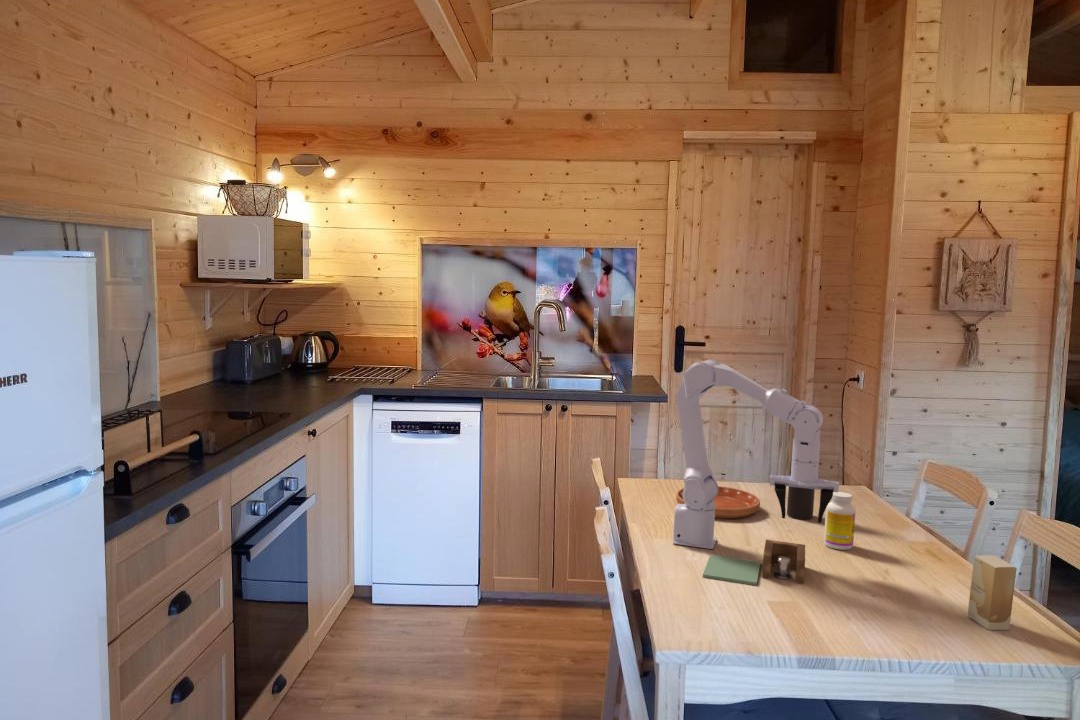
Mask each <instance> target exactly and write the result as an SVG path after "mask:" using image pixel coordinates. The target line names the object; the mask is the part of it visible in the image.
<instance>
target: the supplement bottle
mask: <svg viewBox="0 0 1080 720" xmlns="http://www.w3.org/2000/svg"><path fill="white" fill-rule="evenodd" d="M852 501H853V495H852V494H851V493H848V492H844V491H838V492H833V497H832V499H831V501H830V502H829V503H828V505H827V507H826V509H825V515H824V516H825V518H824V532H823V543H824V545H825V546H826V547H828V548H831V549H834V550H840V551H841V550H842V551H848V550H851V549H853V546H854V536H855V523H856V522H855V521H856V507H854V506H853V505H852Z"/></svg>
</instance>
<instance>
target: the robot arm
mask: <svg viewBox="0 0 1080 720" xmlns="http://www.w3.org/2000/svg"><path fill="white" fill-rule="evenodd" d="M713 387H715V388H716V387H717V388H719V387H721V388H722V387H729V388H732V389H733V390H736V391H737V392H740V393H742V394H744V395H746V396H748V397H750V398H753V400H756V401H758V402H760V404H761V406H762V409H763V411H764V412H767V413H768V414H770V415H771V416H774V417H775V418H777V419H779V420H780V421H783V422H785V423H786V424H788V425H790V424H791V426H792V428H793V429H794V432H793V434H794V435H793V439H792V454H791V460H792V465H791V476H789V475H776V474H773V475H772V474H770V475H769V486H774V492H775V494H776V497H777V500H778V503H779V507H780V510H781V518H782V519H786V513H787V510H786V496H787V495H786V494H787V487H789V486H790V487H799V488H808V489H815V490H818V491H820V495H819V496H820V497H819V508H818V514H817V523H818V524H822V521H823V517H824V514H825V513H826V507H827V505H828V503H830V502H831V501H832V497H833V492H839V490H840V489H839V488H840V482H839V481H833V480H826V479H821V478H819V468H820V467H819V465H820V452H821V451H820V449H821V440H820V439H821V429H820V428H821V426H822V425H823V423H824V415H823V413H822V411H821V410H820V409H819V408H817V407H816V405H813V404H807V401H805V400H801V401H800V400H799V399H797V398H795V397H793V396H792V395H790V394H788V390H786V389H785V388H781V389H779V388H775V387H774V388H772V389H767V388H766V387H764V386H763V385H760V384H759V383H758V382H755V381H754V380H752V379H750V378H749V377H747V376H745V375H744V374H742V373H741V372H739V371H737V370H735V368H732V367H730V366H729V365H727V364H724V363H720V362H719V361H718V360H715V359H713V358H712V359H706V360H703V361H697V362H694V363H692V364H691V365H690V366H689V367H688V368H686V370H685V371H684V372H683V375H682V380H681V382H680V384H679V387H678V389H677V391H676V395H675V397H676V405H677V406H676V407H677V411H678V419H679V426H680V432H681V438H682V446H683V452H684V453H683V454H684V461H685V467H686V469H685V474H684V477H683V482H684V483H683V484H684V486H683V488H684V489H683V488H682V489H683V493H682V496H683V500H684V502H685V504H679V503H676V505H675V510H674V520H673V538H672V539H673V541H672V544H675V545H680V546H681V545H682V546H689V547H695V548H700V549H701V548H702V549H709V550H713V549H714V547H715V545H716V541H717V537H715V536H714V535H715V534H714V533H715V504H714V501H713V499H714V498H715V497H716V496H717V494H718V491H719V488H718V486H719V484H718V482H717V481H716V479H715V478H714V477H715V476H714V475H713V470H712V468H711V467H710V466H709V462H708V456H707V455H708V454H707V448H706V440H705V435H704V428H703V427H704V426H703V422H702V421H703V420H702V414H701V407H700V399H701V398H702V397H703V396H704V395H705V393H707V391H709V389H711V388H713Z"/></svg>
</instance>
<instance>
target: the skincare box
mask: <svg viewBox="0 0 1080 720" xmlns="http://www.w3.org/2000/svg"><path fill="white" fill-rule="evenodd" d="M972 563H973V565H972V573H971V582H970V591H969V597H968V598H969V599H968V608H967V609H968V610H967V616H968V617H969V618H971V620H973V621H975V622H976V623H978V624H979V626H982V627H983V628H985V629H986V630H987V631H1010V627H1011V616H1012V609H1013V600H1014V594H1015V586H1016V585H1015V584H1016V575H1017V566H1014V565H1012V564H1011V563H1009V562H1008V561H1006V560H1004V559H1002V558H1000V557H998V556H997V555H993V554H992V555H985V554H983V555H982V554H981V555H979V554H978V555H973V562H972Z"/></svg>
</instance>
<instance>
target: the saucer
mask: <svg viewBox="0 0 1080 720" xmlns="http://www.w3.org/2000/svg"><path fill="white" fill-rule="evenodd" d="M718 488H719V491H718V494H717V496H716V497H715V498H714V499H713V501H714V504H715V518H716V519H738V518H739V519H740V518H744V517H748V516H749V515H752V514H754V513H756V512H757V511H759V510H760V505H761V501H760V498H759V497H758V496H756V495H755V494H753V493H751V492H749V491H745V490H743V489H738V488H733V487H729V486H728V487H727V486H720V485H718ZM683 489H684V487H683V488H681V489H679V490H678V491H677V492H676V496H675V499H676V503H677V504H685V502H684V500H683V496H682V493H683Z"/></svg>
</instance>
